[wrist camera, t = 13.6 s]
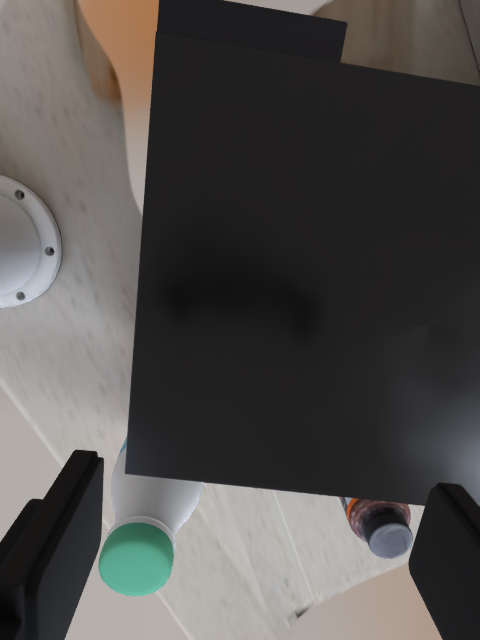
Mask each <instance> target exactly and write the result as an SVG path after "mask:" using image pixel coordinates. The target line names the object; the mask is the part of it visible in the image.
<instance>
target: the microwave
mask: <svg viewBox="0 0 480 640" xmlns="http://www.w3.org/2000/svg"><path fill="white" fill-rule="evenodd" d="M346 28H347V22H344V21H338V20H332V19H327V18H321V17H315V16H310V15H304V14H298V13H293V12H287V11H281V10H276V9H270V8H264V7H258V6H253V5H247V4H241V3H236V2H230V1H224V0H159V11H158V24H157V32H156V37H155V51H154V66H153V80H152V94H151V108H150V122H149V137H148V150H147V165H146V178H145V194H144V206H143V221H142V235H141V249H140V263H139V277H138V291H137V305H136V320H135V334H134V348H133V362H132V376H131V390H130V404H129V419H128V433H127V447H126V461H125V474H128V475H138V476H147V477H157V478H166V479H176V480H185V481H195V482H204V483H214V484H223V485H233V486H242V487H252V488H261V489H271V490H280V491H290V492H299V493H309V494H318V495H328V496H337V497H347V498H356V499H366V500H375V501H385V502H394V503H404V504H413V505H423V506H425V505H426V502H427V499H428V495H429V492H430V490H431V488H433V487H435V486H436V485H437V484H438V483H451V484H459V485H461V486H463V487H464V488H465V490H466V491H467V492H468V493H469V494H470V496H471V497H472V498H473V499H474V500H475V502H476V503H477V504H478V505H479V506H480V86H475V85H469V84H463V83H457V82H452V81H446V80H440V79H434V78H428V77H422V76H416V75H410V74H404V73H399V72H393V71H387V70H381V69H375V68H369V67H363V66H357V65H351V64H346V63H340V61H341V56H342V50H343V45H344V39H345V34H346Z"/></svg>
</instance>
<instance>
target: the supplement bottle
mask: <svg viewBox="0 0 480 640" xmlns="http://www.w3.org/2000/svg"><path fill="white" fill-rule="evenodd" d="M340 500H341V503H342V505H343V508H344V511H345V513H346V516H347V519H348V521H349V524H350V526H351V529H352V531H353V532H354V533H355V534H356V535H357V536H358V537H359V538H360V539H361V540H363V541H365V542H367V543H368V545H369V547H370V549H371V551H372V552H373V553H374V554H375V555H376V556H378V557H381V558H385V559H392V558H396V557H399V556H401V555H403V554H404V553H406V552H407V551H408V550H409V548H410V547H411V545H412V543H413V535H412V532H411V530H410V528H409V523H410V518H411V517H410V509H409V506H408V504H404V503H394V502H385V501H375V500H366V499H356V498H347V497H340Z"/></svg>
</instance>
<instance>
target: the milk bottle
mask: <svg viewBox="0 0 480 640" xmlns="http://www.w3.org/2000/svg"><path fill="white" fill-rule="evenodd" d="M126 447H127V437H126V440H125V442H124V444H123V446H122V449H121V451H120V454H119V456H118V459H117V461H116V464H115V467H114V471H113V475H112V481H111V499H112V505H113V509H114V514H115V525H114V526H113V527H112V528H111V529H110V531H109V533H108V535H107V539H106V541H105V543H104V546H103V548H102V551H101V554H100V558H99V573H100V576H101V578H102V579H103V581H104V582H105V583H106V584H107V585H108V586H109V587H110V588H111V589H113V590H115V591H116V592H118V593H121V594H124V595H129V596H143V595H148V594H150V593H153V592H155V591H157V590H159V589H160V588H161V587H162V586H163V585H164V584H165V583H166V581H167V580H168V578H169V576H170V573H171V570H172V565H173V558H174V551H175V546H176V543H175V538H174V537H175V535H176V533H177V531H178V530H179V528H180V527H181V526H182V525H183V524H184V522H185V521H186V520H187V519H188V518H189V516H190V515H191V514H192V512H193V511H194V509H195V507H196V505H197V503H198V501H199V498H200V496H201V492H202V489H203V485H204V482H195V481H185V480H176V479H166V478H157V477H147V476H138V475H128V474H125V461H126Z"/></svg>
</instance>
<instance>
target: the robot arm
mask: <svg viewBox="0 0 480 640" xmlns="http://www.w3.org/2000/svg"><path fill="white" fill-rule="evenodd" d="M22 193H24V198H23V197H22ZM52 248H53V249H54V253H53V252H52V251H51V249H52ZM61 256H62V244H61V236H60V233H59V230H58V226H57V223H56V221H55V219H54V218H53V216H52V214H51V212H50V210H49V209H48V208H47V206H46V205H45V204H44V202H43V201H42V200H41V199H40V198H39V197H38V196H37V195H36V194H35V193H34V192H33V191H32V190H30V189H29V188H27V187H26V186H24V185H23V184H21V183H20V182H18V181H15V180H13V179H11V178H9V177H6V176H2V175H0V308H7V307H13V306H18V305H21V304H24V303H27V302H29V301H31V300H33V299H35V298H37V297H38V296H39V295H41V294H42V293H43V292H45V291H46V290H47V288H48V287H49V286H50V285H51V284H52V282H53V281H54V279H55V277H56V275H57V273H58V270H59V267H60V263H61ZM23 293H24V294H25V296H24V295H23ZM103 472H104V459H103V458H101V457H98V455H97V452H96V451H86V450H75V451H74V452H73V453H72V455H71V456H70V458H69V459H68V461H67V463H66V464H65V466H64V467H63V469H62V470H61V472H60V474H59V475H58V477H57V478H56V480H55V481H54V483H53V485H52V486H51V488H50V489H49V491H48V493H47V494H46V496H45V497H44V499H43V500H42V499H32V500H30V501H29V502H28V503H27V504H26V505H25V507H24V508H23V510H22V511H21V513H20V514H19V516H18V517H17V519H16V520H15V522H14V523H13V525H12V526H11V527H10V529H9V530H8V532H7V533H6V535H5V536H4V538H3V539H2V541H1V542H0V640H64V639H65V637H66V634H67V631H68V629H69V626H70V624H71V621H72V618H73V616H74V613H75V610H76V608H77V605H78V603H79V600H80V597H81V595H82V592H83V589H84V587H85V584H86V581H87V578H88V576H89V574H90V571H91V568H92V566H93V563H94V561H95V558H96V555H97V553H98V550H99V546H100V541H101V530H102V501H103ZM409 571H410V574H411V576H412V578H413V580H414V582H415V584H416V586H417V589H418V591H419V593H420V594H421V597H422V599H423V601H424V602H425V605H426V607H427V609H428V611H429V613H430V615H431V617H432V619H433V621H434V623H435V625H436V627H437V629H438V631H439V633H440V635H441V637H442V639H443V640H480V506H479V505H478V504H477V503H476V502H475V500H474V499H473V498H472V497H471V496H470V494H469V493H468V492H467V491H466V490H465V488H464V487H463V486H461V485H459V484H451V483H438V484H437V485H436V486H435V487H433V488H431V490H430V492H429V495H428V499H427V502H426V505H425V509H424V512H423V515H422V518H421V522H420V525H419V528H418V532H417V535H416V538H415V541H414V545H413V548H412V551H411V555H410V558H409Z"/></svg>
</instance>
